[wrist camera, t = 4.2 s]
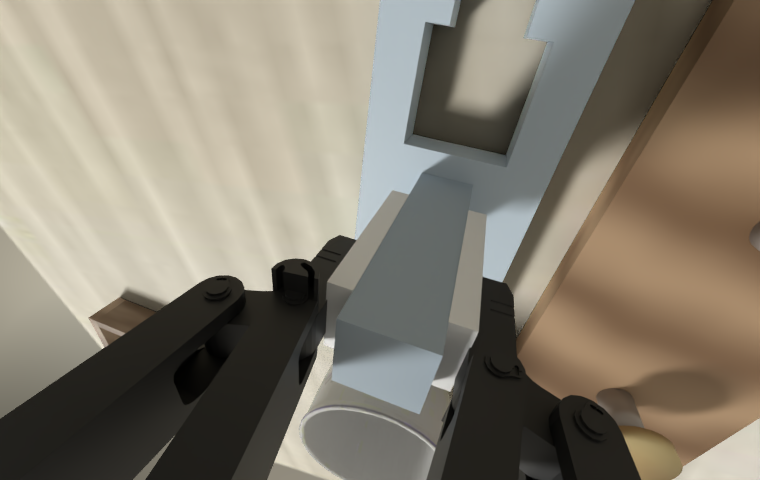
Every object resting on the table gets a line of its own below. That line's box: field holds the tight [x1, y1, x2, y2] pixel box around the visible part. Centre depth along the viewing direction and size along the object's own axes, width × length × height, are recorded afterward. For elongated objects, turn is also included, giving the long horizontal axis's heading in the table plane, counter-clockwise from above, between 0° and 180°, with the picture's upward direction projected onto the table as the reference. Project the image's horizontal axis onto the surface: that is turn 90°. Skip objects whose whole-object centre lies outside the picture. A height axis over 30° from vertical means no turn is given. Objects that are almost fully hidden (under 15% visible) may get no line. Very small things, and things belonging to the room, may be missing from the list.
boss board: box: [516, 0, 760, 480], centre depth 16 cm, size 28×13×5 cm, turn 172°
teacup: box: [299, 364, 450, 480], centre depth 26 cm, size 14×11×8 cm
